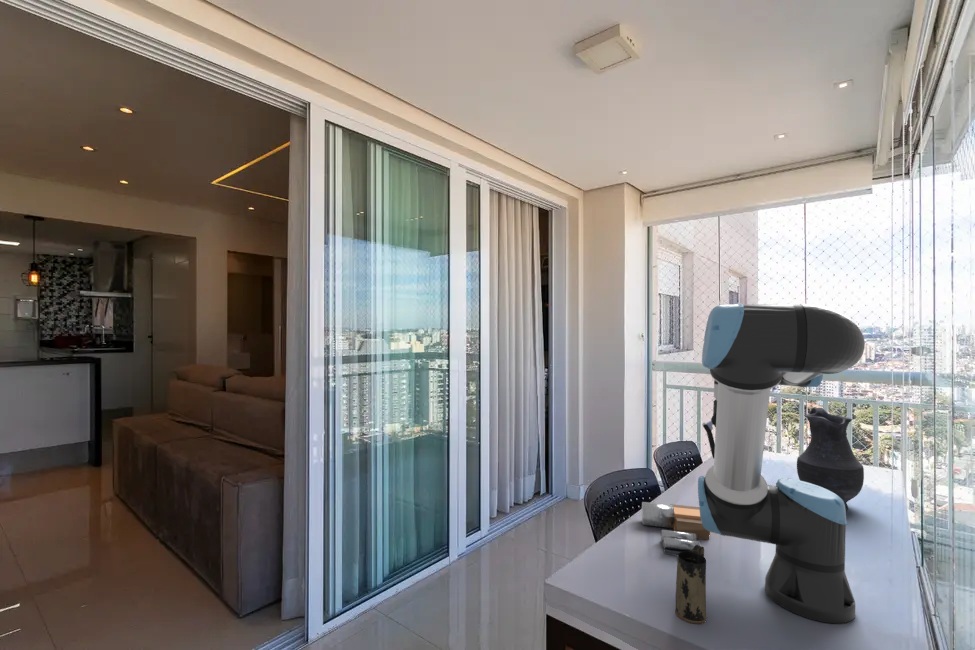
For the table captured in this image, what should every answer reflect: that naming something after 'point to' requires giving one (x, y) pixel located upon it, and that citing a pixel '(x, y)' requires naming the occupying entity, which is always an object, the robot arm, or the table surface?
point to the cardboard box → (690, 524)
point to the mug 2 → (691, 586)
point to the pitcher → (830, 457)
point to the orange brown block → (687, 514)
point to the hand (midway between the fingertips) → (727, 486)
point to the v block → (677, 541)
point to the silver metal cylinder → (658, 515)
